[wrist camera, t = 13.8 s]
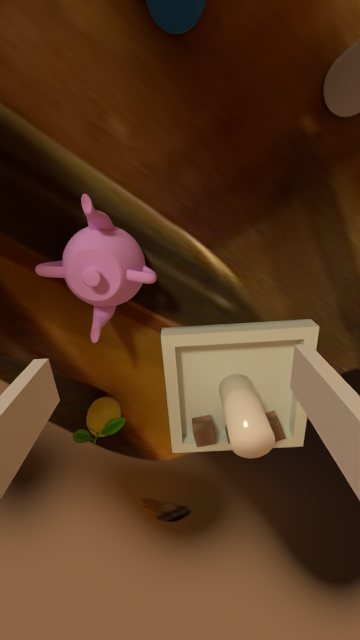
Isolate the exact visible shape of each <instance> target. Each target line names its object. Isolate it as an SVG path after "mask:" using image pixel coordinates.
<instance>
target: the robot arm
mask: <svg viewBox="0 0 360 640" xmlns="http://www.w3.org/2000/svg"><path fill="white" fill-rule="evenodd" d="M290 389H291V391H292V392H293V394H294V395H295V397H296V399H297V400H298V402H299V403H300V405H301V407H302V408H303V410H304V411H305V413H306V415H307V416H308V418H309V420H310V421H311V423H312V424H313V426H314V428H315V429H316V431H317V432H318V434H319V436H320V437H321V439H322V440H323V442H324V444H325V445H326V447H327V449H328V450H329V452H330V453H331V455H332V457H333V458H334V460H335V461H336V463H337V465H338V466H339V468H340V469H341V471H342V473H343V474H344V476H345V477H346V479H347V481H348V482H349V484H350V486H351V487H352V488H353V490H354V492H355V494H356V495H357V497H358V498H359V500H360V394H357V393H356V392H355V391H354V390H353V389H352V388H351V387H350V386H349V385H348V384H347V383H346V382H345V381H344V380H343V378H342V377H341V376H340V375H339V374H338V373H337V372H336V371H335V370H334V369H333V368H332V367H331V366H330V365H329V364H328V363H327V362H326V361H325V360H324V359H323V358H322V357H321V356H320V355H319V353H318V352H317V351H316V350H315V349H314V348H313V347H312V346H311V345H310V344H298V345H295V347H294V355H293V364H292V373H291V382H290ZM59 401H60V399H59V396H58V392H57V388H56V385H55V381H54V377H53V374H52V370H51V367H50V363H49V359H34V360H33V361H32V362H31V363H30V364H29V365H28V367H27V368H26V369H25V370H24V371H23V372H22V373H21V374H20V375H19V376H18V377H17V378H16V379H15V380H14V382H13V383H12V384H11V385H10V386H9V387H8V388H7V389H6V390H5V391H4V392H3V393H2V394H1V396H0V499H1V498H2V496H3V494H4V492H5V491H6V489H7V488H8V486H9V484H10V483H11V481H12V479H13V478H14V476H15V474H16V473H17V471H18V469H19V468H20V466H21V464H22V462H23V461H24V459H25V458H26V456H27V454H28V453H29V451H30V449H31V448H32V446H33V444H34V443H35V441H36V439H37V438H38V436H39V434H40V433H41V431H42V429H43V428H44V426H45V424H46V423H47V421H48V419H49V418H50V416H51V414H52V413H53V411H54V409H55V408H56V406H57V404H58V403H59Z"/></svg>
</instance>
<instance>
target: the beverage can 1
mask: <svg viewBox="0 0 360 640" xmlns="http://www.w3.org/2000/svg"><path fill="white" fill-rule="evenodd" d="M146 2H147V7H148V10H149V12H150V15H151V17H152V18H153V20H154V21H155V23H156V24H157V25H158V26H159V27H160V28H161V29H163V30H164V31H166V32H168V33H172V34H180V33H184V32H186V31H188V30H190V29H191V28H192V27H193V26H194V25H195V24H196V23H197V22H198V20H199V19H200V17H201V15H202V13H203V10H204V6H205V2H206V0H146Z"/></svg>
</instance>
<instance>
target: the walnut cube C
mask: <svg viewBox="0 0 360 640" xmlns="http://www.w3.org/2000/svg"><path fill="white" fill-rule="evenodd" d="M265 414H266V417H267V419H268V421H269V424H270V426H271V428H272V431H273V433H274V436H275V442H277V441H280V440H283V439H286V436H285V433H284V431H283V428H282V426H281V423H280V421H279V419H278V417H277V415H276V413H275V411H274V410H273V411H270V412H268V413H265Z"/></svg>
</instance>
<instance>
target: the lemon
mask: <svg viewBox="0 0 360 640" xmlns="http://www.w3.org/2000/svg"><path fill="white" fill-rule="evenodd" d="M120 417H121V408H120V406H119V403H118V402H117V401H116V400H115V399H113V398H110V397H102V398H99V399H97V400H95V401H94V402H93V403H92V405H91V406H90V408H89V410H88V414H87V427H88V429H89V431H90V432H91V433H92V434H93V435H95V436H96V437H95V440H93V439H92V437H91V436H90V434H89V433H88V431H86V430H83V429H81V430H78V431H76V432H75V433H74V434H73V439H74V441H75V442H78V443H84V442H87V441H90V440H93V441H94V444H95V442H96V439H97V437H103V436H107V435H112V434H114V433H116V432H117V431H119V430H120V429H121V428H122V426H123V425H124V423H125V420H126V418H120Z"/></svg>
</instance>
